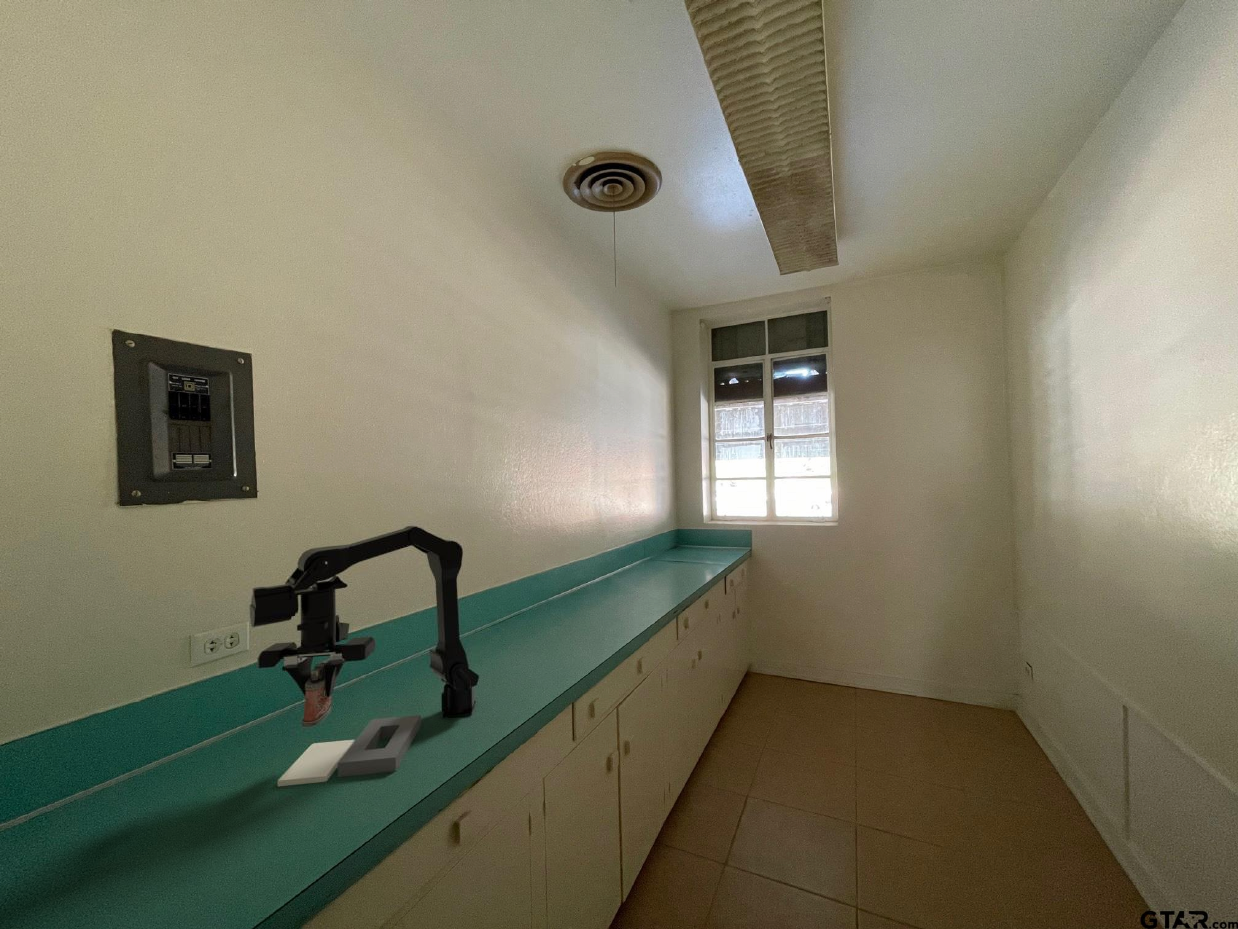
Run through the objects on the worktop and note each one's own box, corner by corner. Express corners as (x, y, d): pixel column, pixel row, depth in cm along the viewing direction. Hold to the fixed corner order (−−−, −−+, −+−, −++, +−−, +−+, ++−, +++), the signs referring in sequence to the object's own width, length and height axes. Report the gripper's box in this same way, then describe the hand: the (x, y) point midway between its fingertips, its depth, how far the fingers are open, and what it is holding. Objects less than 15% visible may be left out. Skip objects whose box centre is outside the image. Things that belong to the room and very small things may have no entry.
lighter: (317, 727, 87) (321, 671, 87) (296, 727, 86) (301, 672, 87) (335, 706, 95) (339, 656, 95) (317, 707, 94) (321, 656, 95)
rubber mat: (354, 744, 96) (354, 739, 96) (326, 781, 85) (326, 775, 85) (312, 748, 95) (312, 743, 95) (277, 786, 83) (277, 780, 84)
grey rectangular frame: (420, 726, 103) (420, 715, 103) (395, 771, 87) (395, 757, 87) (371, 731, 102) (371, 719, 102) (337, 777, 86) (337, 763, 86)
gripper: (384, 601, 100) (385, 675, 100) (289, 606, 98) (290, 683, 97) (363, 616, 89) (364, 700, 89) (255, 622, 87) (255, 709, 86)
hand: (319, 697), depth 90 cm, fingers closed on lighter, 3 cm apart
